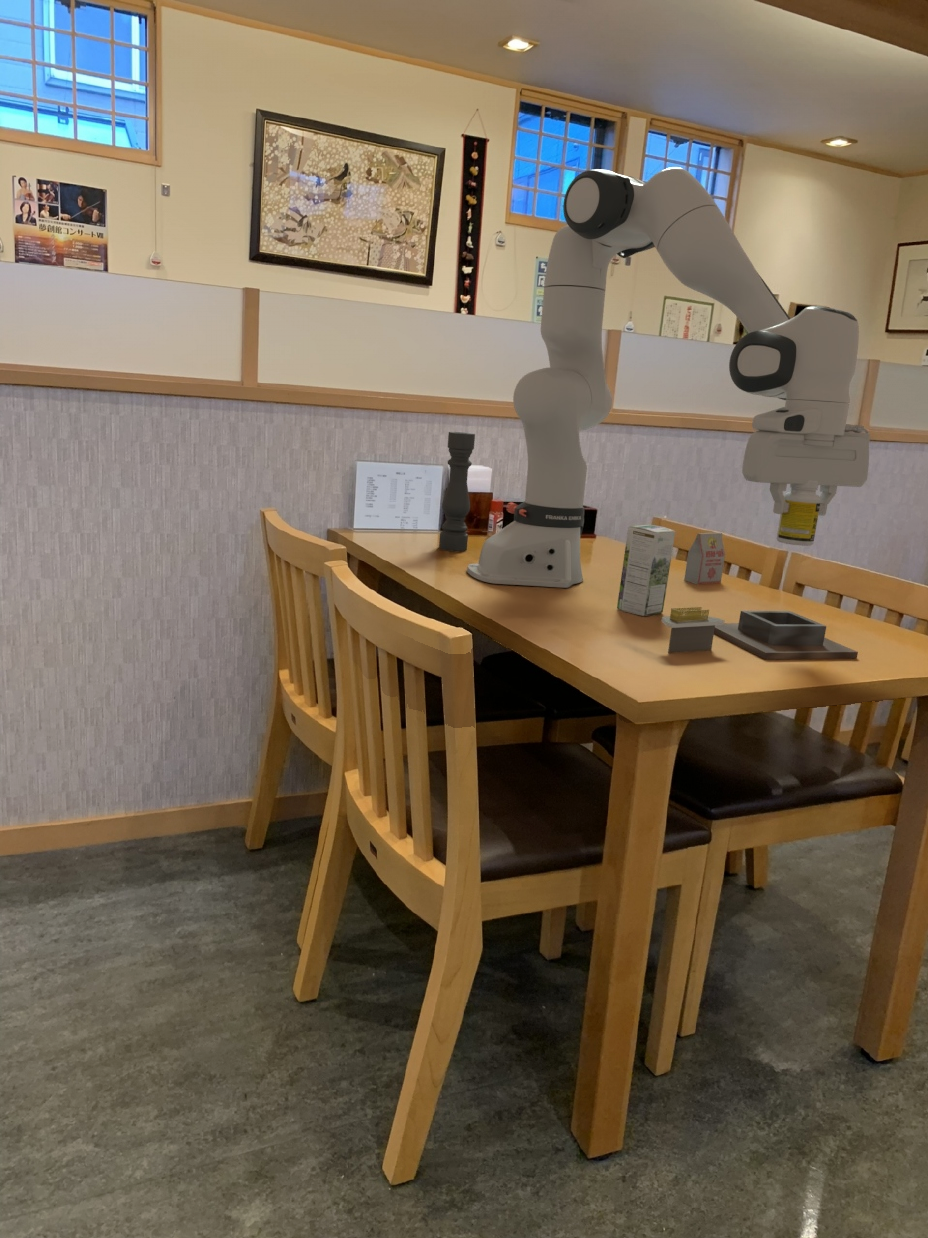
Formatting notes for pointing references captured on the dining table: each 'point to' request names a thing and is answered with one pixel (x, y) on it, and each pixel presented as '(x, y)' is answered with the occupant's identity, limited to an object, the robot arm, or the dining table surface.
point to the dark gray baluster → (457, 493)
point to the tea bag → (705, 559)
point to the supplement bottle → (800, 515)
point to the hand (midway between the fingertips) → (799, 514)
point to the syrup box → (645, 569)
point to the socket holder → (782, 636)
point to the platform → (690, 629)
